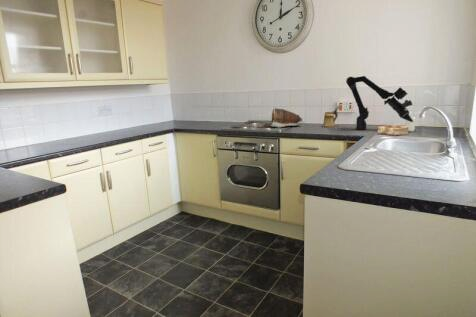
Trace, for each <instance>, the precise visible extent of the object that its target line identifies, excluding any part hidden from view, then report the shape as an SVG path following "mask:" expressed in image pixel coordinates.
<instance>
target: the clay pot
mask: <svg viewBox="0 0 476 317" xmlns="http://www.w3.org/2000/svg"><path fill="white" fill-rule="evenodd" d="M270 121H271V122H270V127H272V128H279V129H280V128H283V127H294V126H295V127H296V126H297V125H299V124H301V123H303V121H304V120H303V118H302V117H301V116H300V115H299V114H296V113H295V112H292V111H289V110H286V109H283V108H275V107H273V109H272V111H271V120H270Z"/></svg>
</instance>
